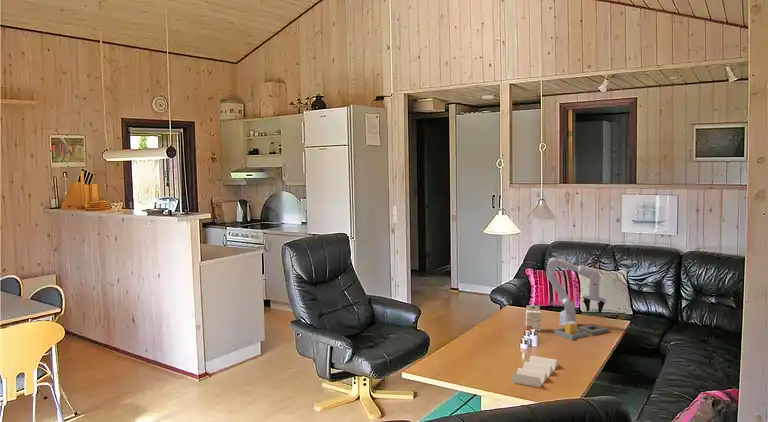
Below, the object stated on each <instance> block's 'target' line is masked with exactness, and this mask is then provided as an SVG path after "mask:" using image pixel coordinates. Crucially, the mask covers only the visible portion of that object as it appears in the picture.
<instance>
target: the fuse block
mask: <svg viewBox="0 0 768 422" xmlns="http://www.w3.org/2000/svg"><path fill="white" fill-rule="evenodd" d="M577 329H578V330H581V331H584V332H587V335H589V336H597V335H602V334H606V333H610V328H607V327H606V326H605V327H604V326H601V325H598V324H595V323H591V324H588V325H583V326H582V325H581V326H577Z"/></svg>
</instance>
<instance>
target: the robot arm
mask: <svg viewBox="0 0 768 422" xmlns="http://www.w3.org/2000/svg"><path fill="white" fill-rule="evenodd" d="M546 264H547V265H546V277H547V279H548V281H549V282H550V284H551V286H552V287H553V289H554V291H555V292H556V294H557V295H558V297H559V299H560V300H561V303H562V304H563V306H564V309H563V310H562V311H560V312H559V323H558V326H562V325H563V326H564V327H565V322H569V321H574V322H576V321H577V319H576V318H577V316H576V315H577V314H576V313H577V311H576V303H575V301H573V300H572V299H571V298H570V297H569V295H568V293H567V292H566V290H565V289H564V287H563V286H562V284H561V282H560V281H559V279H558V278H557V276H556V272H557V271H556V270H557V269H558V268H559V269H562V268H566V269H569V270H571V271H573V272H576V273H577V274H578V276H582V277H585V278H587V279H589V291H588V292H589V293H588V295H582V296H581V297H582V301H583V303H584V306H585V308H586V309H585V310H586V312H590V308H591V301H596V302H597V308H598V310H597V312H598V314H601V313H602V311H603V307H604V306H605V304H606V303H607V298H602V297H600V278H601V276H600V273H599V271H598V270H596V269H593V268H588V267H587V266H586V265H580V266H578V265H575V264H573V263H571V262H569V261H566V260H564V259H561V258H557V257H550V258H549V259H548V261H547V263H546Z"/></svg>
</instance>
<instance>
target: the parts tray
mask: <svg viewBox="0 0 768 422" xmlns="http://www.w3.org/2000/svg"><path fill="white" fill-rule="evenodd" d="M554 335H556V336H559V337H562V338H565V339H568V340H570V341H574V340H576V339H579V338H583V337H588V334H587V332H584V331H581V330H578V329H577V334H575V335H571V334H568V333H565V327H561V328H556V329H554Z"/></svg>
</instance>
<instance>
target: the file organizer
mask: <svg viewBox="0 0 768 422" xmlns="http://www.w3.org/2000/svg"><path fill="white" fill-rule="evenodd" d="M558 366H559V361H558V359H555V358H548V357H543V356H542V357H541V356H536V355H530V356H529V359H528V361H524V363H523V365H522V368H521V367H518V368H517V370H516V373H515V372H512V373H511V383H513V384H518V385H525V386H529V387H530V386H531V387H537V388H541V387H542V385H543V384H544V383H545V382H546V381H547V379H548V378H549V377H550V376H551V374H553V372H555V370H556V369H557V367H558Z"/></svg>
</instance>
